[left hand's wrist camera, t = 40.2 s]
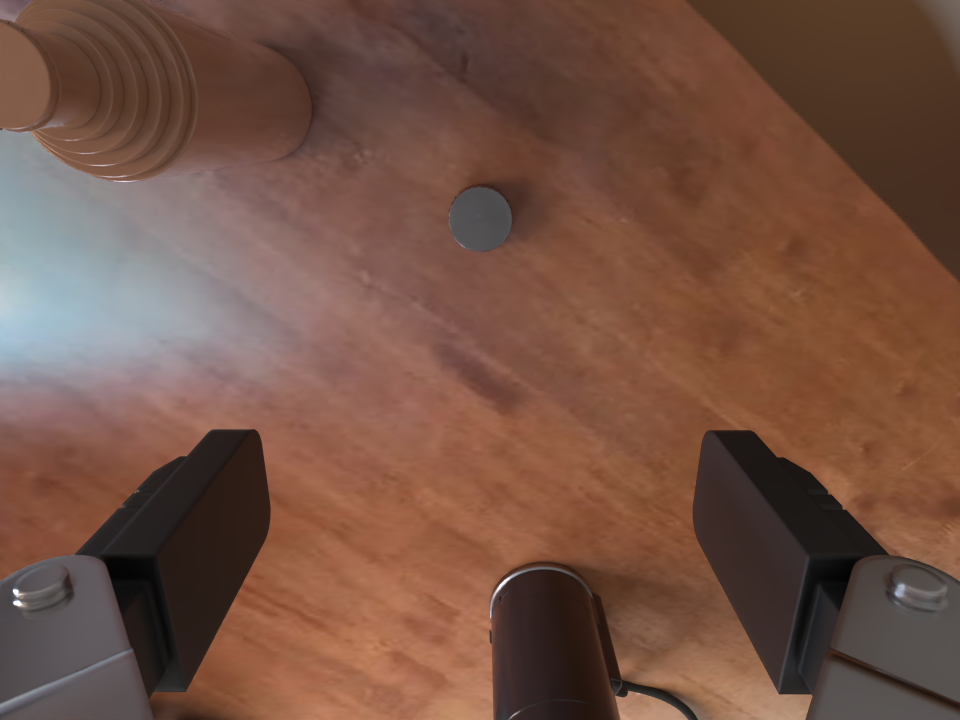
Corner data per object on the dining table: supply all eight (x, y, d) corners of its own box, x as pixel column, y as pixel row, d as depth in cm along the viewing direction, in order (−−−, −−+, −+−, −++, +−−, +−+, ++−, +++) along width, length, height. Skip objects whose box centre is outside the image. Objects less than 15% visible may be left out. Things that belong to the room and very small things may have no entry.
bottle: (221, 23, 40) (-109, -112, 18) (327, 76, 42) (144, 12, 19) (190, 132, 43) (-137, 136, 20) (291, 179, 44) (90, 233, 21)
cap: (436, 211, 45) (434, 215, 43) (484, 170, 44) (484, 172, 42) (476, 259, 46) (476, 265, 44) (523, 220, 45) (526, 224, 43)
